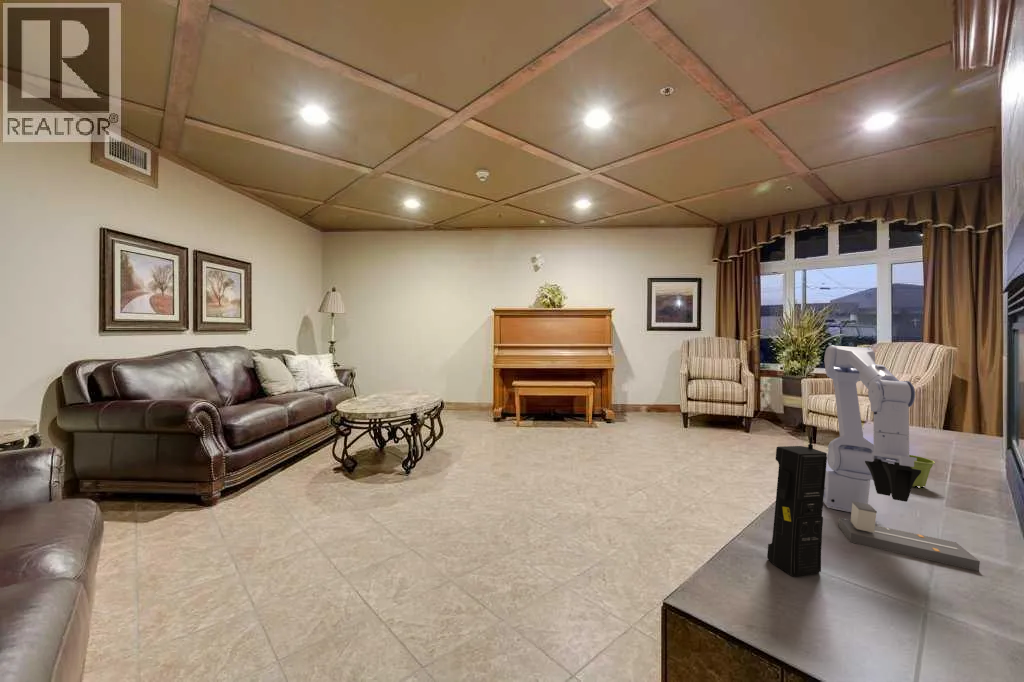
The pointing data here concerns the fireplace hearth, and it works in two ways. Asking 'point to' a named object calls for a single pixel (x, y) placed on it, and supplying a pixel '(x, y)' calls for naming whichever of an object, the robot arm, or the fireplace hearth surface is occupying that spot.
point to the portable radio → (798, 510)
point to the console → (911, 545)
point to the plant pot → (922, 470)
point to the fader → (863, 516)
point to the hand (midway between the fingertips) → (891, 497)
